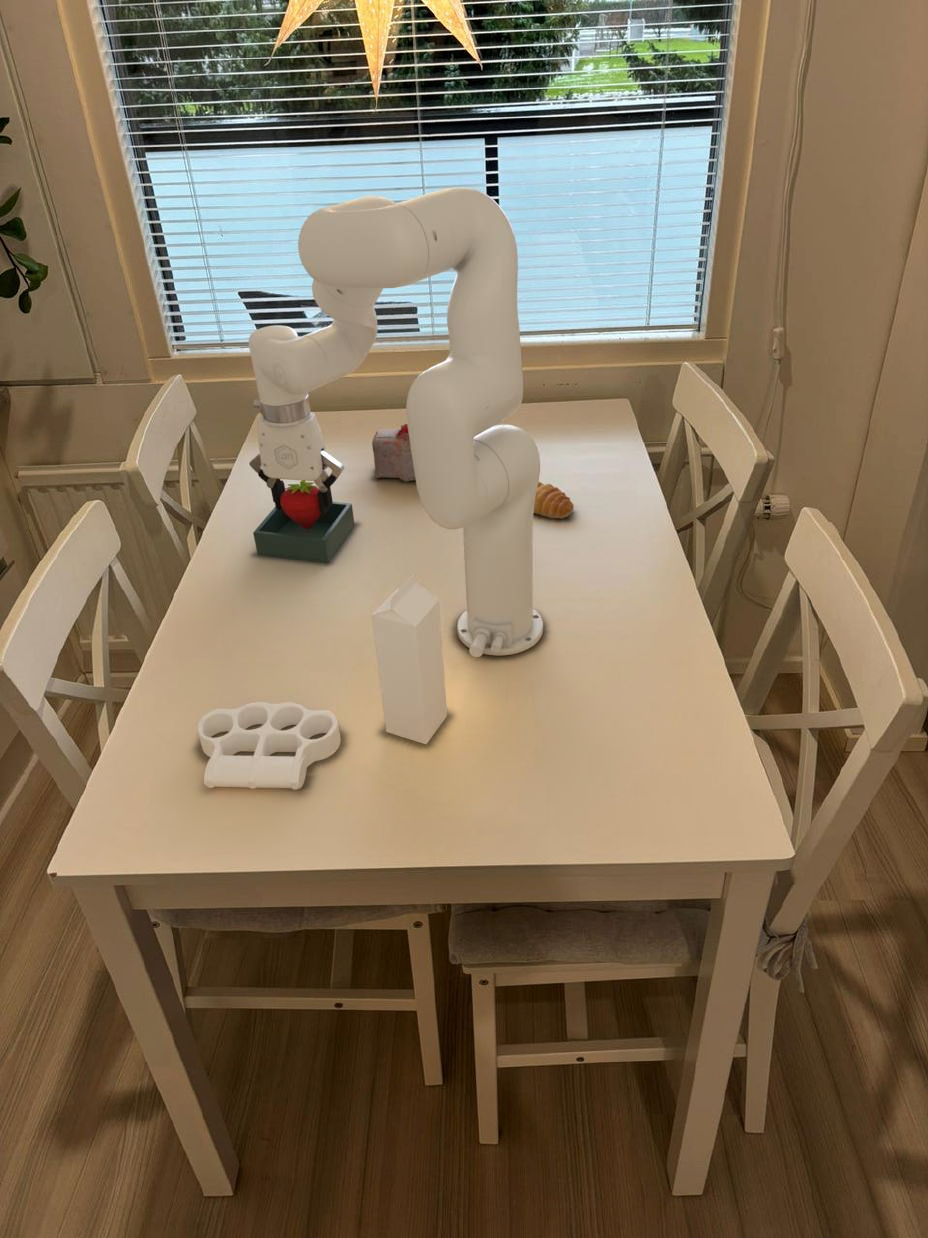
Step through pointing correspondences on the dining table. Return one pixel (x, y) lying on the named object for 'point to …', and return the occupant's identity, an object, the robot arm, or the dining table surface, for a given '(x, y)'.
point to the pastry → (552, 502)
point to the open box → (304, 534)
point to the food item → (393, 454)
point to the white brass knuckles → (265, 744)
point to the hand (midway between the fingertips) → (303, 507)
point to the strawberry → (301, 503)
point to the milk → (411, 662)
